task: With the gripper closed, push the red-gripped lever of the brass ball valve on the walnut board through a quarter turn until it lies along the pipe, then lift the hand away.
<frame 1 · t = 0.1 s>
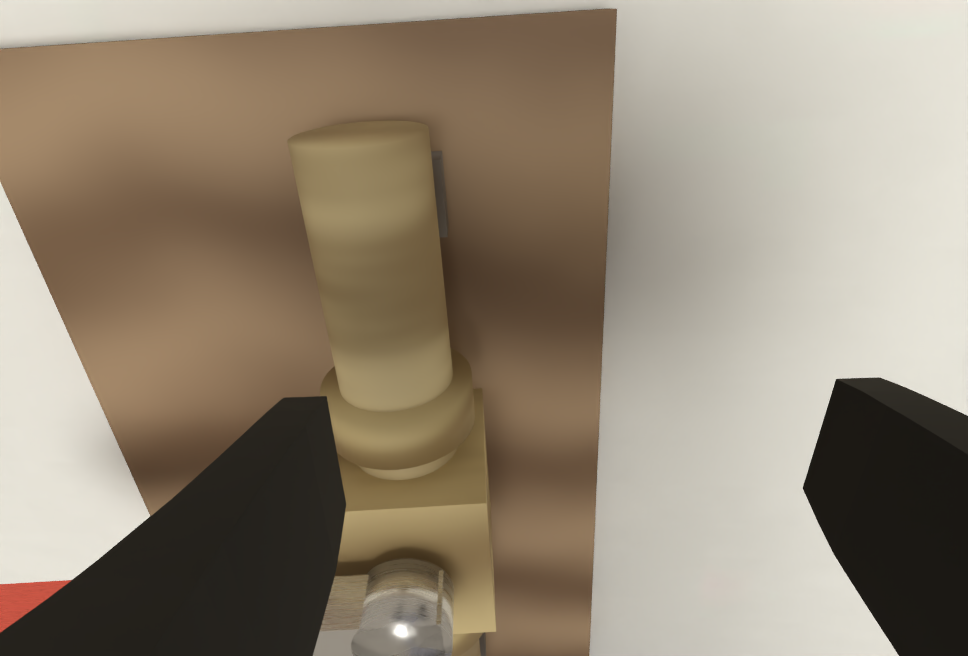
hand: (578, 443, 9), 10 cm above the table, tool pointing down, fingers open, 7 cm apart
valve board: (424, 434, 21), on the table
valve lever: (218, 630, 15), point 7 cm above the table, hinge at 90.0°
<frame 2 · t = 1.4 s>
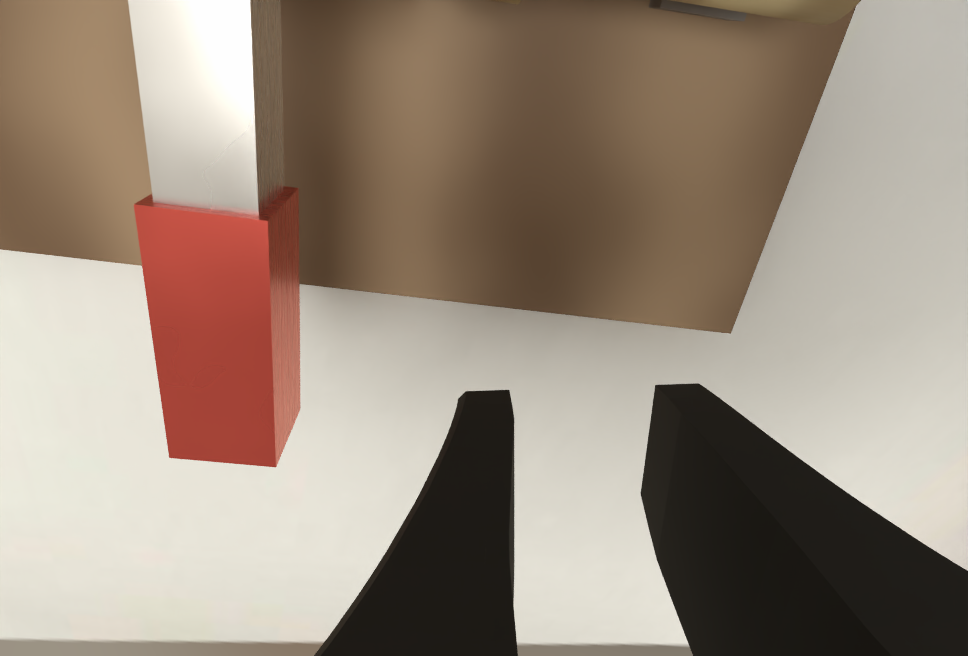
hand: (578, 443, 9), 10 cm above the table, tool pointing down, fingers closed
valve lever: (220, 143, 10), point 7 cm above the table, hinge at 90.0°
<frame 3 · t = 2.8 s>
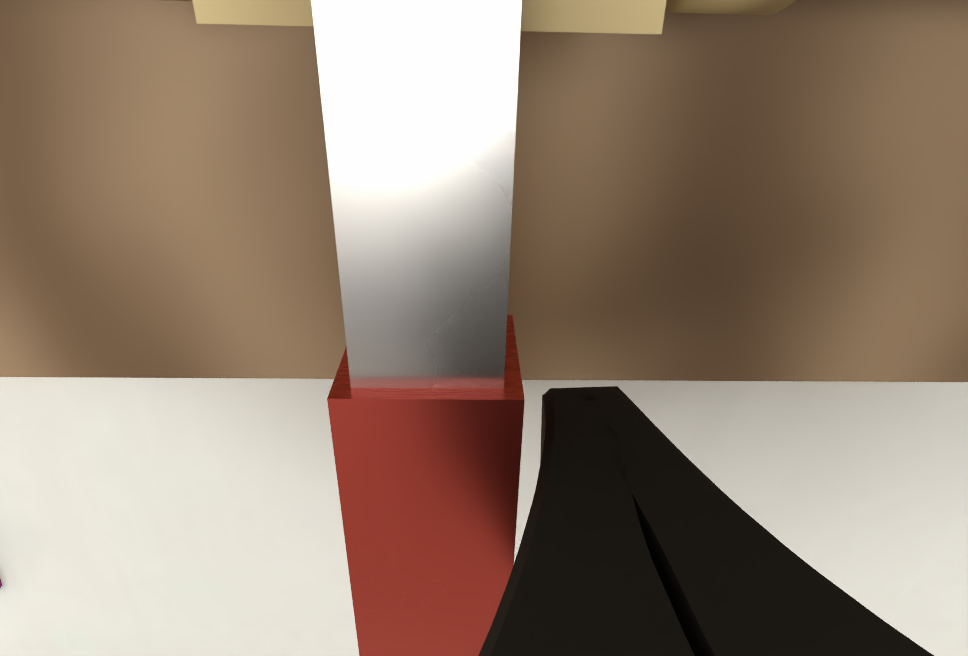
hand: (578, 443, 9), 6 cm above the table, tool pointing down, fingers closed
valve lever: (429, 284, 6), point 7 cm above the table, hinge at 90.0°, touching gripper
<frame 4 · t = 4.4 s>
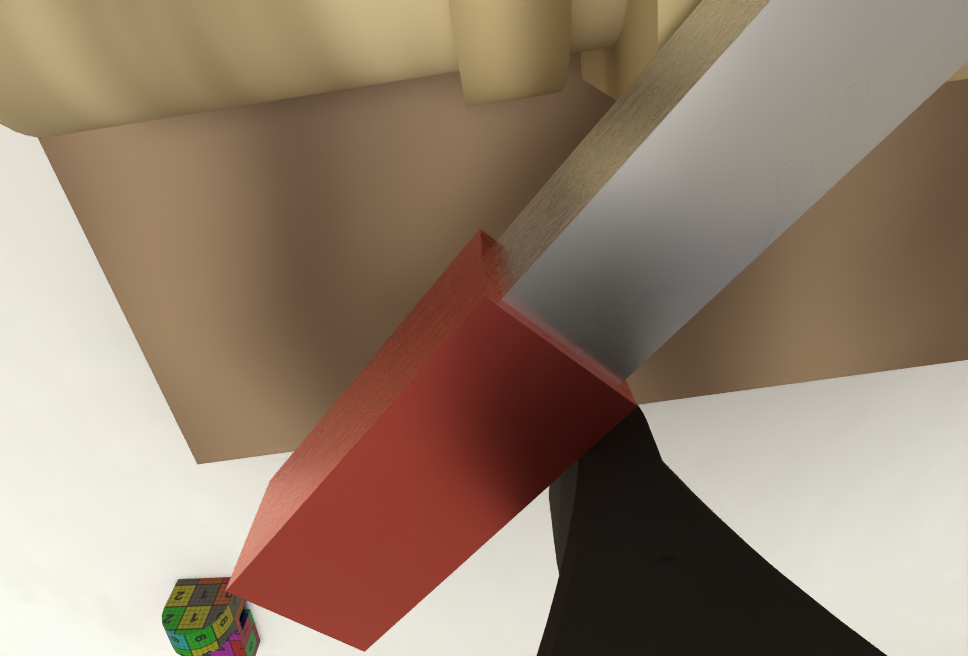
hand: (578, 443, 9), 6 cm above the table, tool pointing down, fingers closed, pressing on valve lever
puzzle cube: (231, 591, 20), on the table
valve lever: (606, 253, 6), point 7 cm above the table, hinge at 42.7°, touching gripper
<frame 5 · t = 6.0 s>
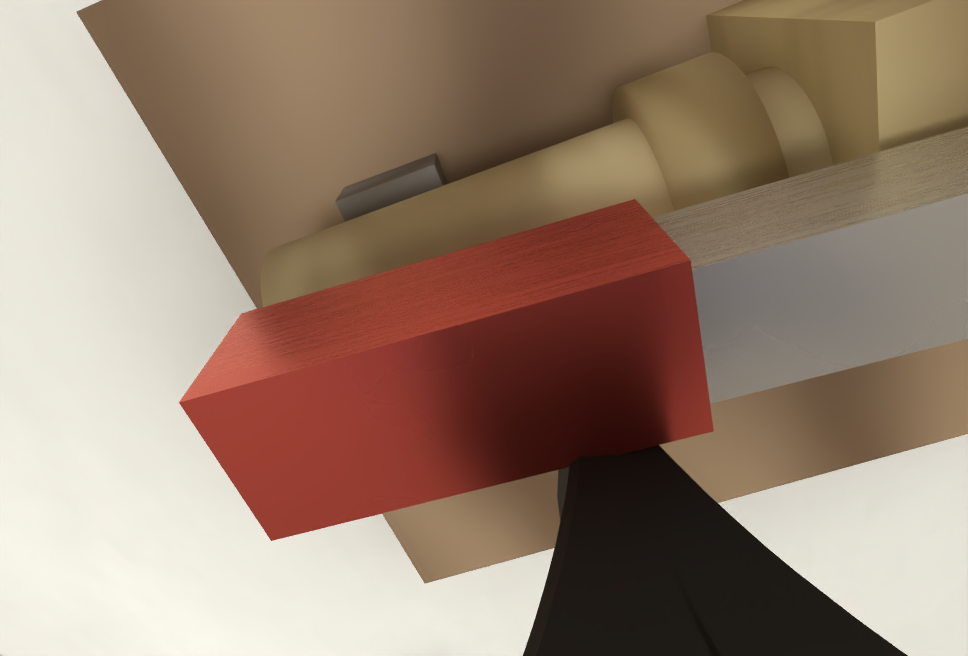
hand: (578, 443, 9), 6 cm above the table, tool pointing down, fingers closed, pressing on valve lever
valve board: (824, 81, 12), on the table
valve lever: (749, 287, 6), point 7 cm above the table, hinge at -3.2°, touching gripper
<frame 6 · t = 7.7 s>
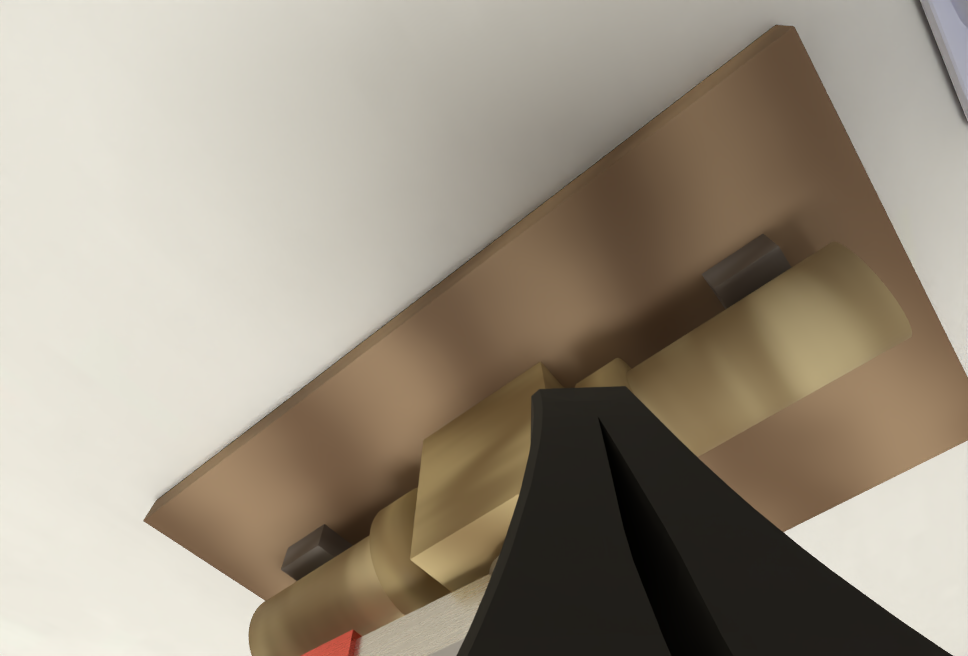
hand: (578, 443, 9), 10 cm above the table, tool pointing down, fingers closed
valve board: (517, 424, 21), on the table
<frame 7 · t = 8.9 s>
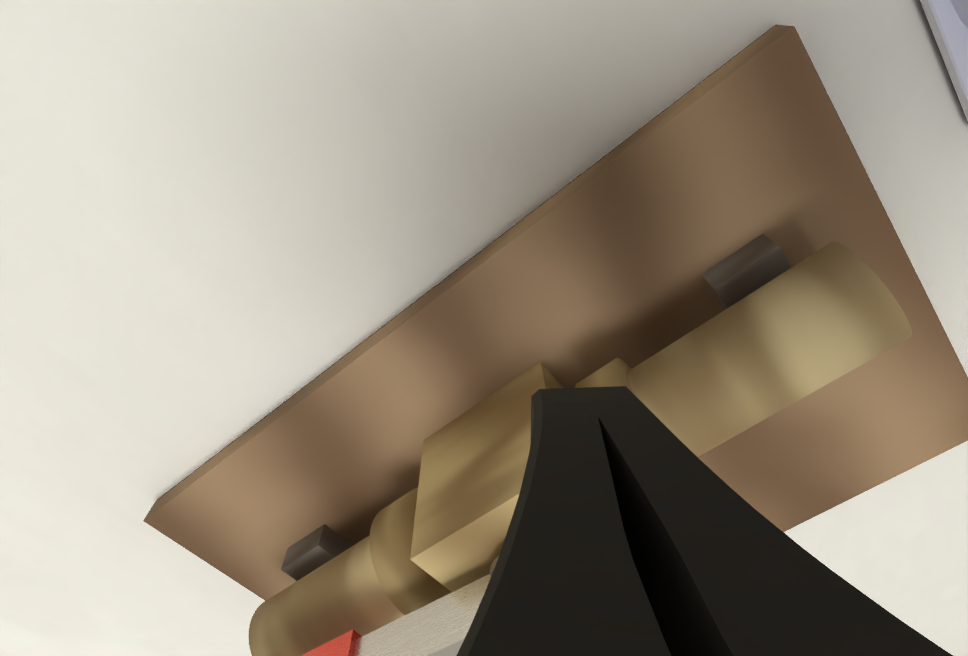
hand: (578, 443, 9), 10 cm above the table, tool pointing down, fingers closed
valve board: (518, 424, 21), on the table
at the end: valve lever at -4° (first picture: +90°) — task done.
